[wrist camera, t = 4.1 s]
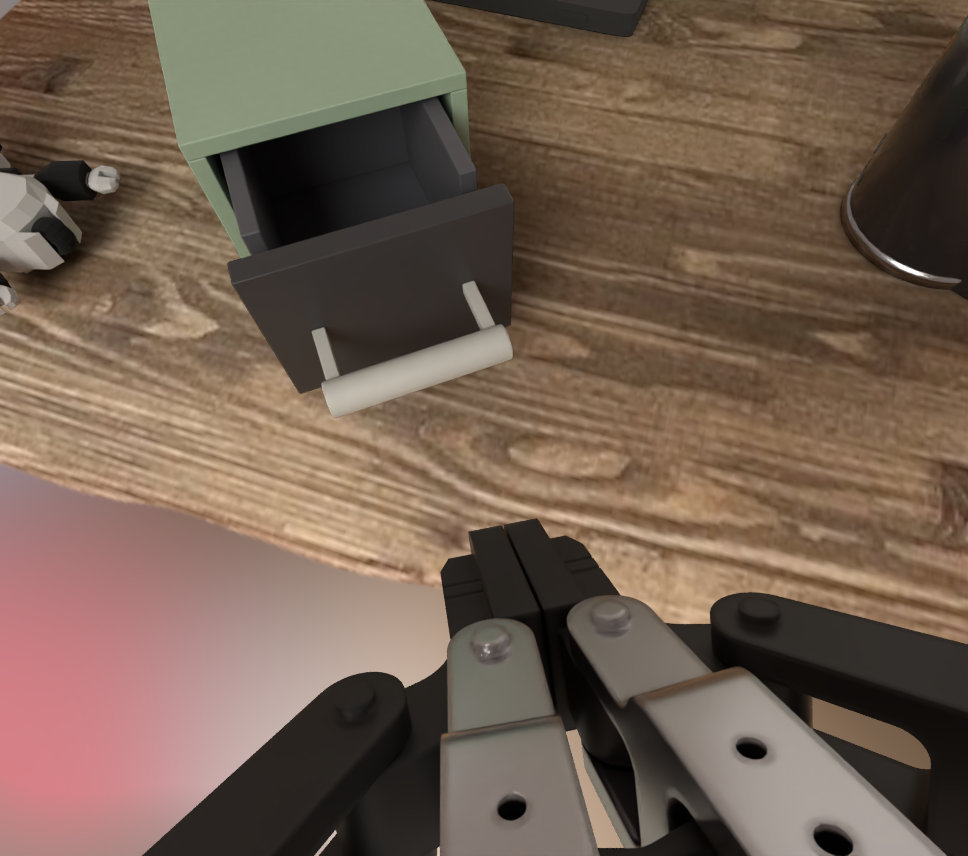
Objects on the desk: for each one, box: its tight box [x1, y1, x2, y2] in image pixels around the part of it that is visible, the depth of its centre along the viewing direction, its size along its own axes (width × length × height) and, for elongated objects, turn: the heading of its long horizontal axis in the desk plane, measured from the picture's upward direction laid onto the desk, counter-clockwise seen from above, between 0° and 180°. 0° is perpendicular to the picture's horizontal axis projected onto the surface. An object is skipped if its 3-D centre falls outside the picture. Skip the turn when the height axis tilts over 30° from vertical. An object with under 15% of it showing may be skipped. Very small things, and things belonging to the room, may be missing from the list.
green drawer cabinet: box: [148, 0, 471, 258], centre depth 32 cm, size 15×13×10 cm
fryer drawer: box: [220, 96, 514, 418], centre depth 28 cm, size 18×11×8 cm, turn 21°
